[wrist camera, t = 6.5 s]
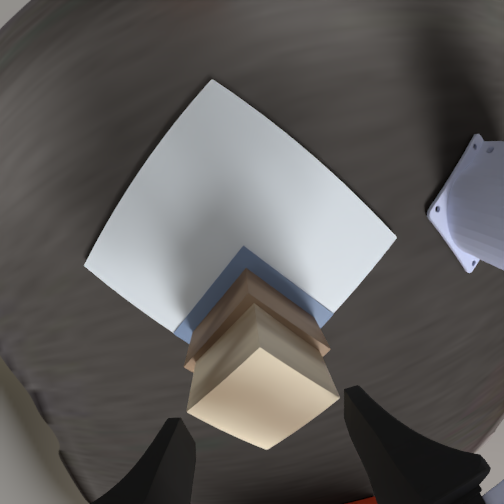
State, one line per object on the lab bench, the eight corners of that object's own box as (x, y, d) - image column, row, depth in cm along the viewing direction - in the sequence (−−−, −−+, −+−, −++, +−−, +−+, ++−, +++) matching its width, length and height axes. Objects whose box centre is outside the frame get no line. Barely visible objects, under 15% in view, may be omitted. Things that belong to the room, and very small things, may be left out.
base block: (246, 267, 18) (248, 292, 14) (314, 317, 19) (330, 349, 15) (192, 332, 19) (183, 366, 15) (259, 372, 20) (263, 409, 16)
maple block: (253, 302, 14) (259, 347, 11) (319, 351, 15) (340, 397, 12) (195, 362, 15) (186, 411, 11) (261, 401, 16) (266, 449, 12)
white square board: (212, 81, 16) (211, 78, 15) (392, 235, 19) (397, 237, 18) (87, 263, 18) (83, 266, 18) (260, 380, 21) (261, 386, 21)
